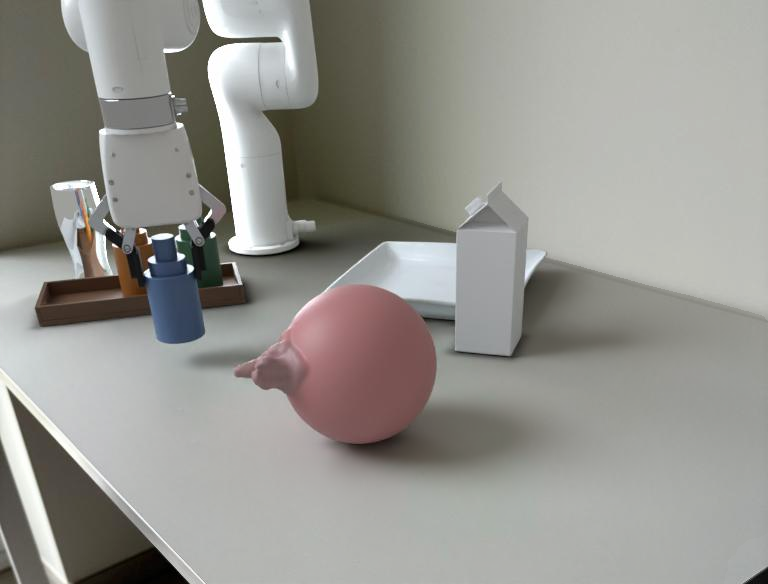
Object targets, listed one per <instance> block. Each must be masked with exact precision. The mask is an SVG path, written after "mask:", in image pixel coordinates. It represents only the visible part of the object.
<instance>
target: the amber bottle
mask: <svg viewBox="0 0 768 584" xmlns="http://www.w3.org/2000/svg"><path fill="white" fill-rule="evenodd" d="M119 228H120V230H119V231H120V232H121V233H123V234H124V229H125V228H122V227H119ZM134 242H135V243H136V246H137V248H139V251H140V256H141V261H142V266H143V270H144V272H145V271H146V270H147V269H149V266H148V259H149V258H150V257H152V256H154V251H153V246H152V241H151V237H148V232H147V229H145V228H143V227H140V228H137V229H136V235H135V240H134ZM111 249H112V253H113V256H114V261H115V262H114V263H115V266H116V272H117V274H118V276H119V280H120V285H121V289H122V294H123V297H126V296H135V295H144V294H147V290H146V285H145V286H144V287H139V285H138V280H137V278H135V279H132V278H131V274H130V270H129V265H128V261H127V256H126V253H124V252H123V251H122V249H120V248H119V247H118V246H116V245H115V244H113V243H111Z"/></svg>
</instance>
